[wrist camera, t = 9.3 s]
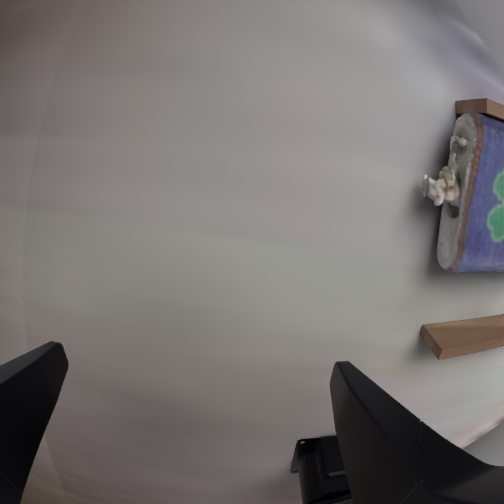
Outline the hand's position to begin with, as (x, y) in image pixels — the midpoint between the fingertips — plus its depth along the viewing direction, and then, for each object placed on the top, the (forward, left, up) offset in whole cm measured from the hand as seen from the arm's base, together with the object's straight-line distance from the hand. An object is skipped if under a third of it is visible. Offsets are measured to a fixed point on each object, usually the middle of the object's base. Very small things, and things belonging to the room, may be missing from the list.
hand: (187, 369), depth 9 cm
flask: (+5, -21, -10) cm, 24 cm away
